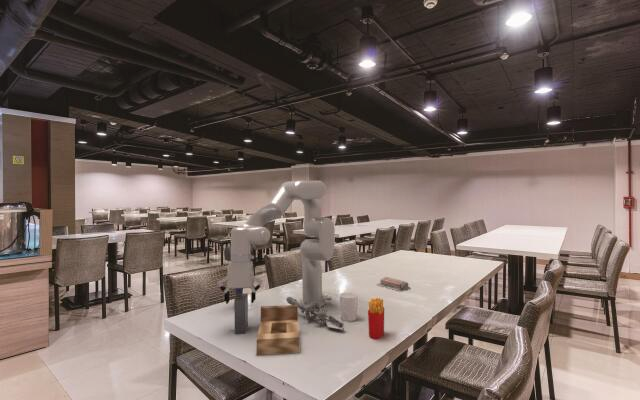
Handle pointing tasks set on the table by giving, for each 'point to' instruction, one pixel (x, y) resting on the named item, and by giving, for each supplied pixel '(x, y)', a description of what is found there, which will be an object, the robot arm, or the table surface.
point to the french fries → (376, 318)
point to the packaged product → (394, 284)
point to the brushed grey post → (241, 313)
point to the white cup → (348, 306)
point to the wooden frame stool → (278, 330)
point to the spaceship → (317, 313)
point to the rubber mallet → (228, 257)
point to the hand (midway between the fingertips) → (240, 302)
